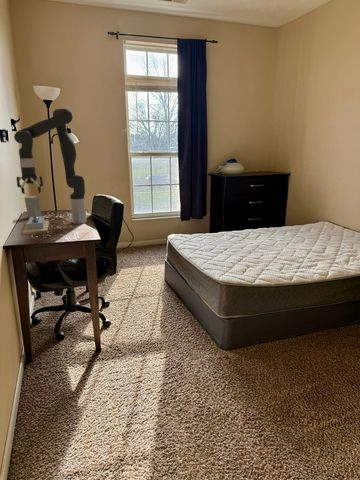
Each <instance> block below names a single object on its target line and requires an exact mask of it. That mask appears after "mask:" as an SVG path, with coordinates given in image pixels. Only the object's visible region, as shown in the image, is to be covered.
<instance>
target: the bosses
mask: <svg viewBox="0 0 360 480" xmlns="http://www.w3.org/2000/svg"><path fill="white" fill-rule="evenodd" d="M33 219H34V220H32V222H34V223H38V219H39V217H33Z"/></svg>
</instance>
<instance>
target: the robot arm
mask: <svg viewBox="0 0 360 480" xmlns="http://www.w3.org/2000/svg"><path fill="white" fill-rule="evenodd" d="M72 121H73V114H72V111H70V110H69V109H67V108H57V109H54V110H53V112H52V117H49V118H48V119H43V120H40V121H38V122H36V123H34V124H32V125H30V126H28V127H25V128H22V129H20V130H17V131H16V132H15V133H14V134H13V135H14V138H13V139H14V140H15V142H16V143H18V144H21V147H20V148H19V149H18V155H19V164H20V165H19V166H20V170H21V176H16V186H17V188H20V191H21V193H22V194H23V195H26V192H25V185H26V184H27V185H29V184H35V186H37V191H38V194H40V193H41V192H42V189H41V187H42V186H44V181H43V176H42V175H37V173H36V167H35V162H34V157H33V145H34V139H36V138H39V137H40V136H43V135H44V134H46V133H48V132H50V131H52V130H54V129H56V133H57V137H58V141H59V146H60V147H59V148H60V151H61V152H60V153H61V157H62V160H63V167H64V173H65V182H66V185H67V187H68V188H70V189H73V192H72V193H71V194H70V195H69V196H70V197H69V198H70V209H71V219H72V220H71V221H72V223H73V224H85V223H87V208H86V204H85V194H86V187H85V186H86V184H85V179H84V177H83V176H82V175H80V174H76V170H75V163H76V160H77V150H76V145H75V143H74V140H73V139H72V137H71V136H70V134H69V132H68V129H67V125H68V124H70V123H71V122H72ZM37 179H38V180H39V182H40V184H39V182H38V181H37ZM21 180H22V181H23V182H22V183H20V182H21Z"/></svg>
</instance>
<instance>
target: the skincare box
mask: <svg viewBox="0 0 360 480" xmlns="http://www.w3.org/2000/svg"><path fill="white" fill-rule="evenodd" d="M24 203H25V207H26V213H27V217H28V219H29V218H30V217H41V216H43V214H42V209H41V204H40V198H39V196H36V195H35V196H34V195H33V196H32V195H31V196H27V197H24Z"/></svg>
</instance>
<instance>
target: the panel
mask: <svg viewBox="0 0 360 480" xmlns="http://www.w3.org/2000/svg"><path fill="white" fill-rule="evenodd" d="M32 220H34V219H33V217H30V218H29V217H28V221H27V222H28V223H27V222H26V223H27V227H28V229H39V228H43V227H44V222H45V221H46V220H45V215H42V216H41V217H39V219H38V223H34V222H32Z"/></svg>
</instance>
